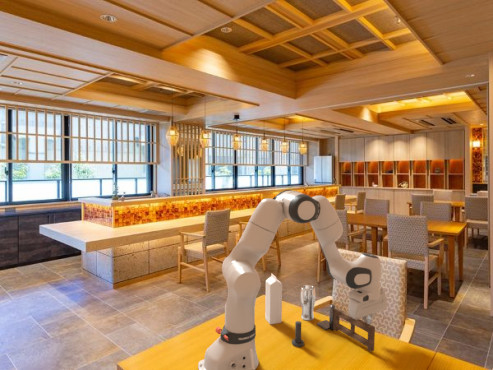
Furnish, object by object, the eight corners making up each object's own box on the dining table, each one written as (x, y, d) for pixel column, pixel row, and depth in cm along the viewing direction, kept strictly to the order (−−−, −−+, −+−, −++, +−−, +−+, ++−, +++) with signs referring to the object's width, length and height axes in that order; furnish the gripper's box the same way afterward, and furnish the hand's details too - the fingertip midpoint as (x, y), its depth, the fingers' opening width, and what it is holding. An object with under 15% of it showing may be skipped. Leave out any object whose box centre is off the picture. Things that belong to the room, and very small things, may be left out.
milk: (269, 324, 152) (270, 278, 150) (265, 318, 158) (265, 273, 156) (281, 322, 154) (282, 276, 152) (276, 316, 160) (277, 272, 158)
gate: (333, 329, 146) (333, 308, 146) (337, 327, 148) (337, 307, 147) (371, 351, 129) (371, 328, 129) (375, 349, 131) (376, 326, 130)
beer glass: (314, 314, 162) (314, 285, 161) (315, 321, 155) (316, 290, 154) (299, 313, 163) (300, 284, 162) (300, 320, 156) (301, 289, 155)
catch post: (297, 348, 133) (297, 326, 132) (289, 342, 137) (289, 321, 137) (306, 344, 135) (307, 323, 135) (298, 339, 140) (299, 318, 139)
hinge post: (329, 332, 146) (329, 308, 145) (316, 324, 152) (317, 301, 151) (338, 328, 149) (339, 305, 148) (326, 321, 155) (326, 298, 155)
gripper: (378, 284, 146) (377, 315, 147) (346, 294, 136) (345, 326, 137) (391, 289, 141) (390, 320, 142) (358, 299, 130) (357, 333, 131)
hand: (367, 323), depth 139 cm, fingers closed
